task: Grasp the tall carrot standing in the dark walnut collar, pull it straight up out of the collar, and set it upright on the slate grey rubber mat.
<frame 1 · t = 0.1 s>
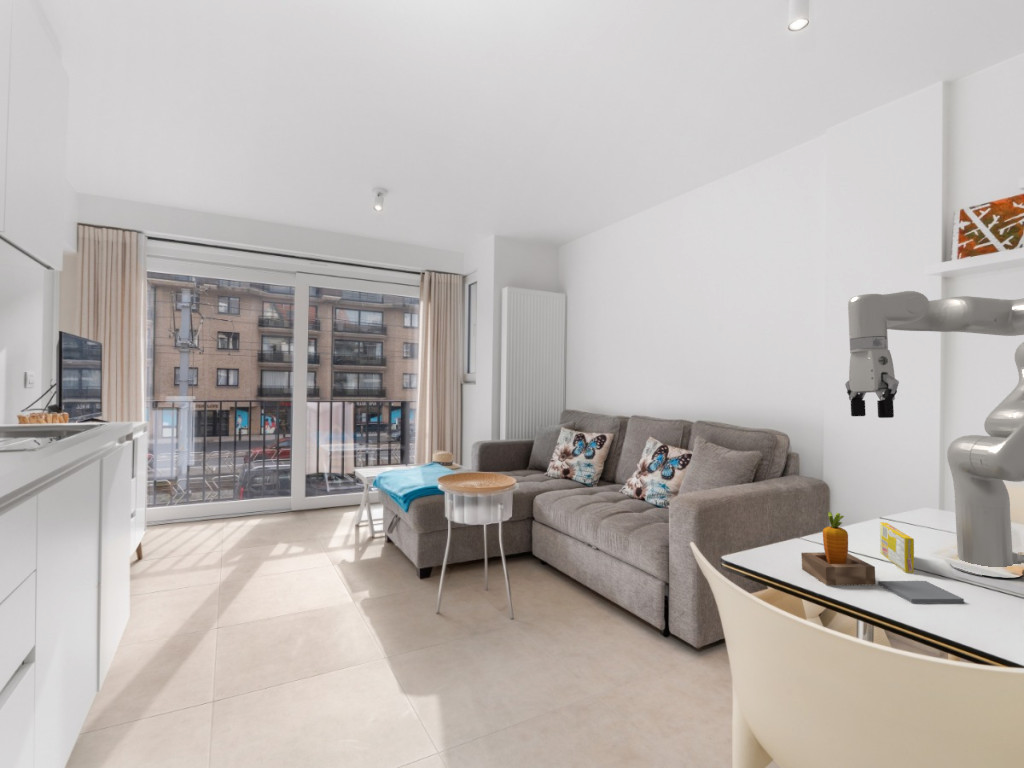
hand: (871, 416, 121), 37 cm above the table, tool pointing down, fingers open, 9 cm apart
rubber mat: (919, 593, 106), on the table
carrot: (837, 577, 116), on the table
candy box: (896, 563, 125), on the table
walnut collar: (837, 576, 116), on the table
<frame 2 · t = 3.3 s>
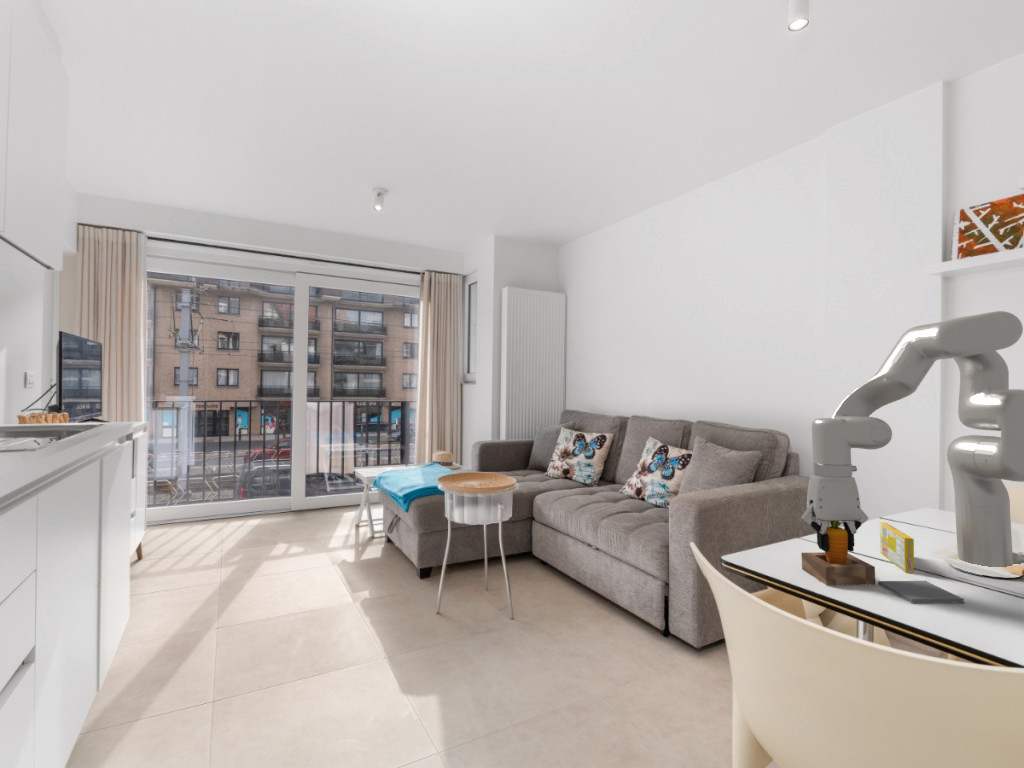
hand: (835, 548, 117), 6 cm above the table, tool pointing down, fingers closed on carrot, 4 cm apart
carrot: (837, 577, 116), on the table, touching gripper
everything else where it was.
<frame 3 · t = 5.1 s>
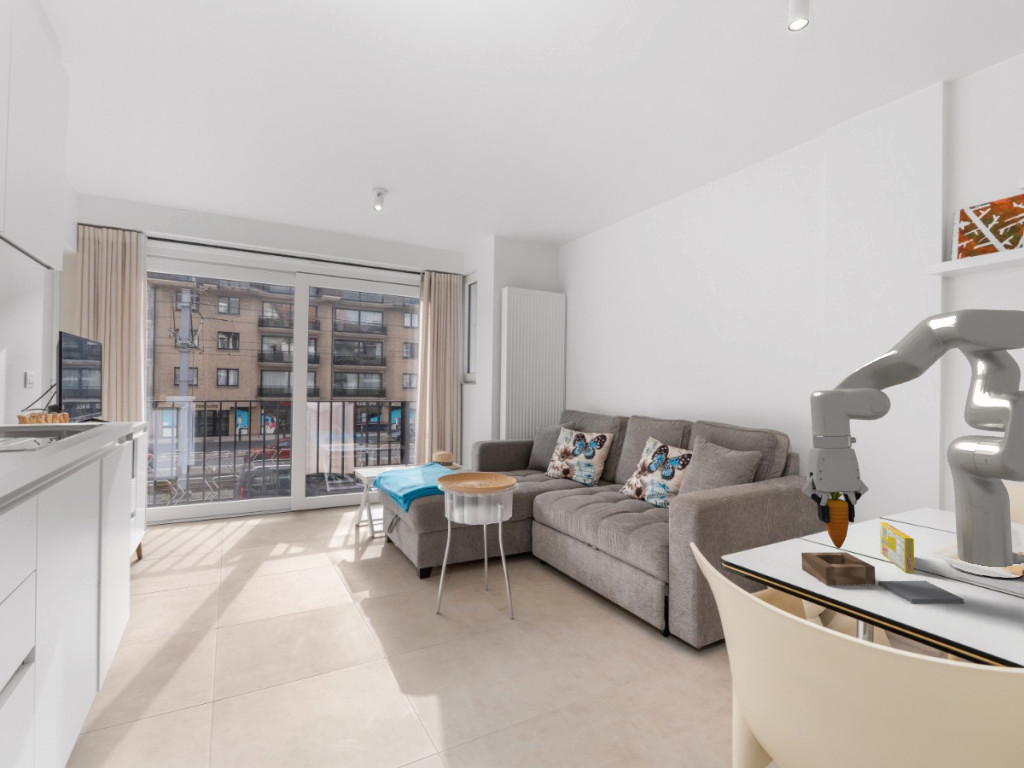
hand: (836, 520, 117), 13 cm above the table, tool pointing down, fingers closed on carrot, 4 cm apart
carrot: (838, 549, 117), point 6 cm above the table, touching gripper
everything else where it was.
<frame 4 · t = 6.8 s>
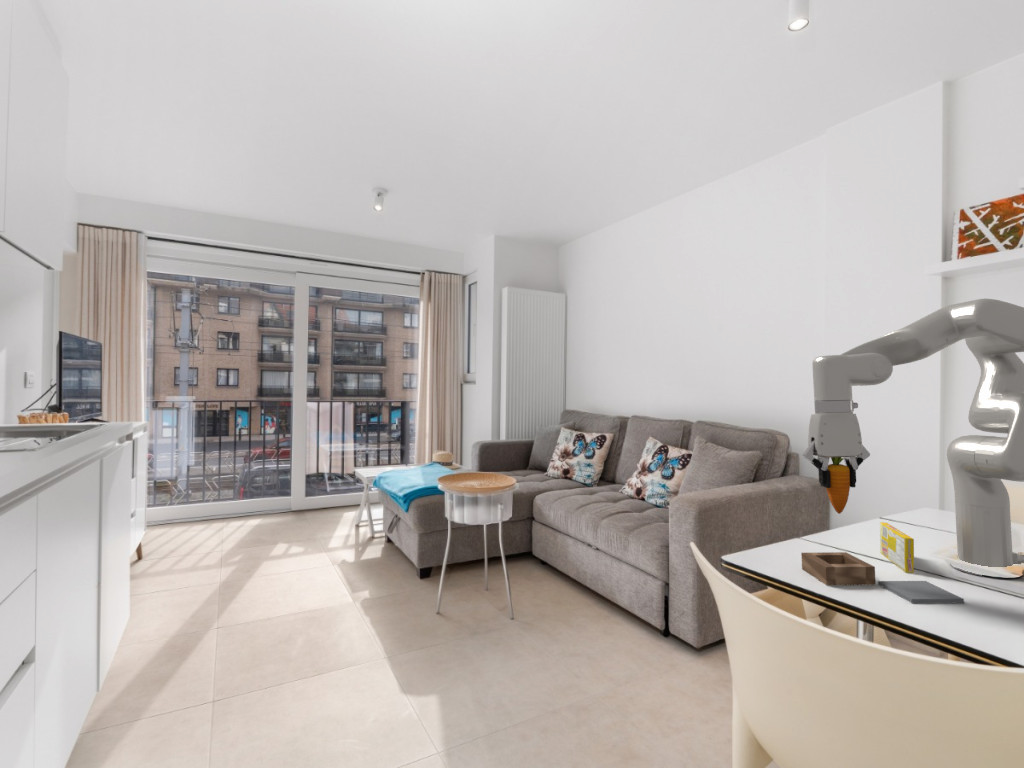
hand: (837, 485, 116), 21 cm above the table, tool pointing down, fingers closed on carrot, 4 cm apart
carrot: (839, 514, 116), point 14 cm above the table, touching gripper
everything else where it was.
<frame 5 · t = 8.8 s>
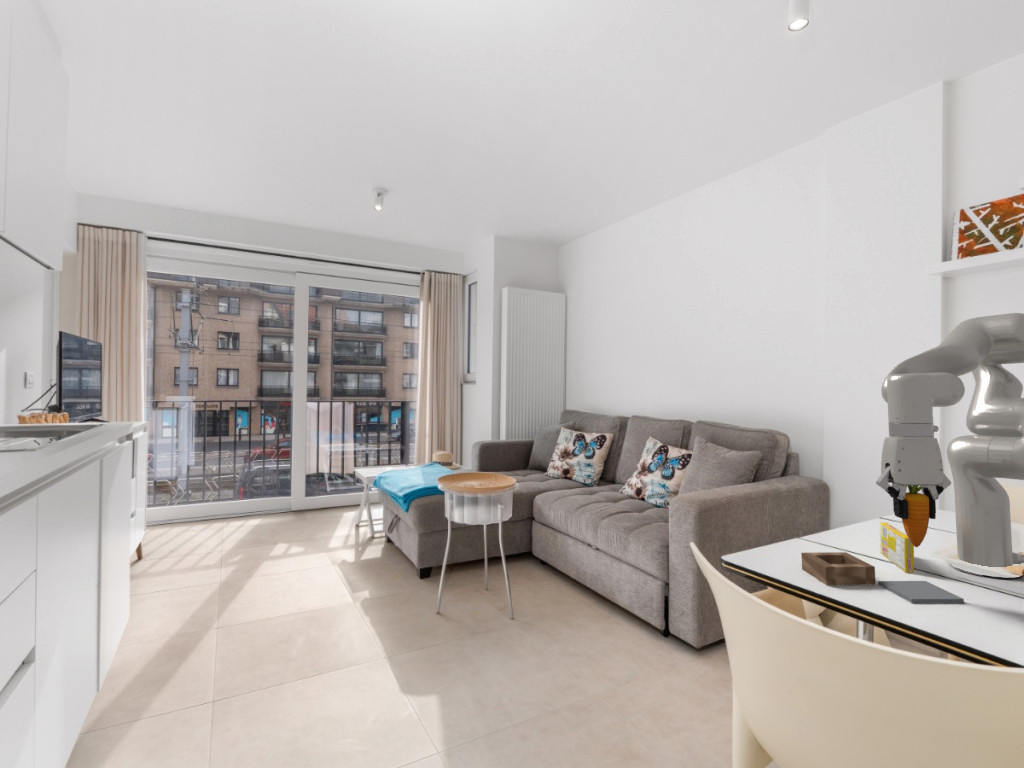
hand: (914, 516, 106), 16 cm above the table, tool pointing down, fingers closed on carrot, 4 cm apart
carrot: (916, 548, 106), point 9 cm above the table, touching gripper
everything else where it was.
when the fingers open (9 cm above the table, at t = 10.4 s): carrot drops 1 cm, resting on rubber mat.
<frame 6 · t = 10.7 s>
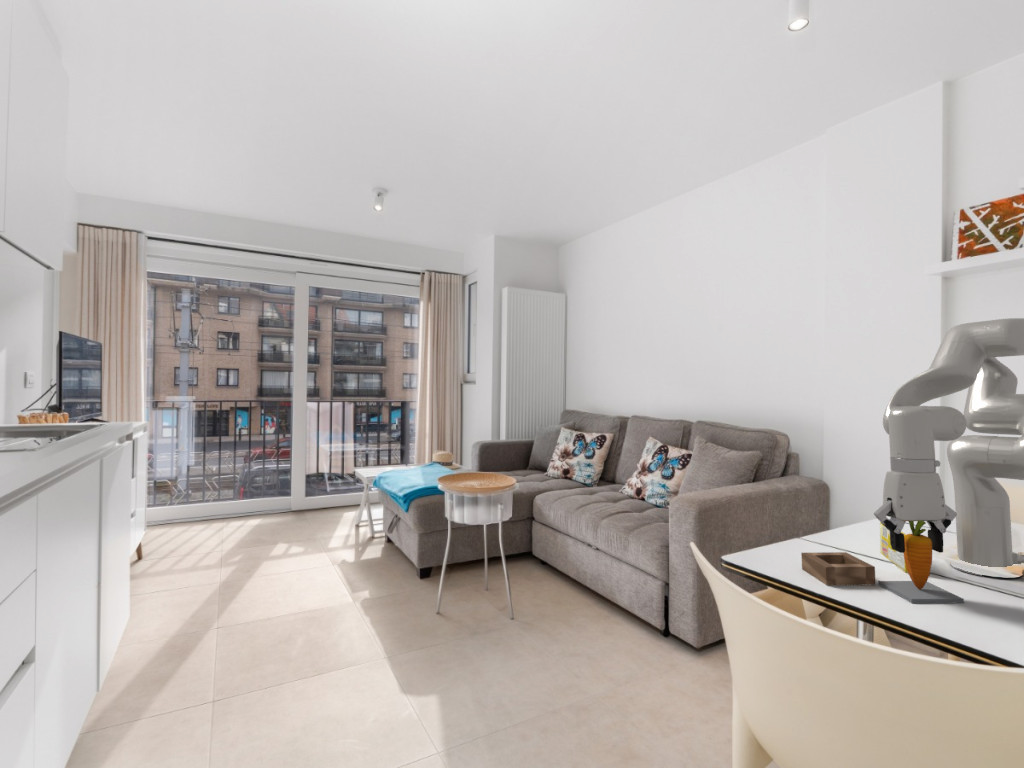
hand: (916, 550, 106), 9 cm above the table, tool pointing down, fingers open, 7 cm apart
carrot: (919, 590, 106), point 1 cm above the table, touching rubber mat
everything else where it was.
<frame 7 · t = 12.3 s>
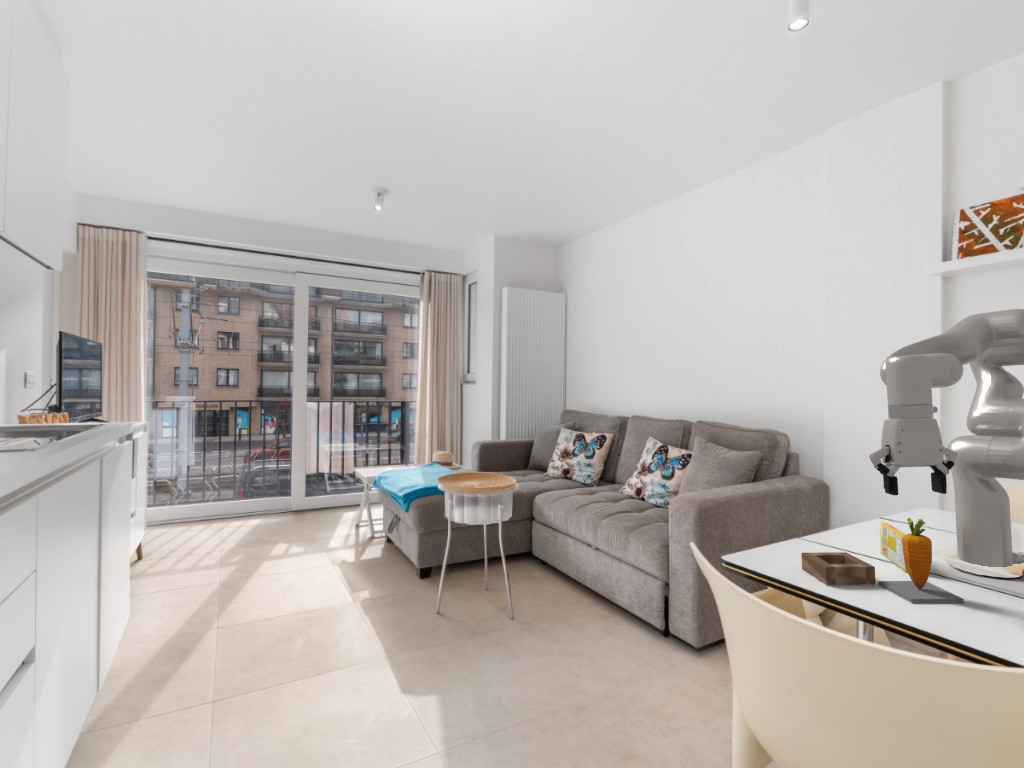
hand: (915, 493, 107), 21 cm above the table, tool pointing down, fingers open, 9 cm apart
nothing on the table moved.
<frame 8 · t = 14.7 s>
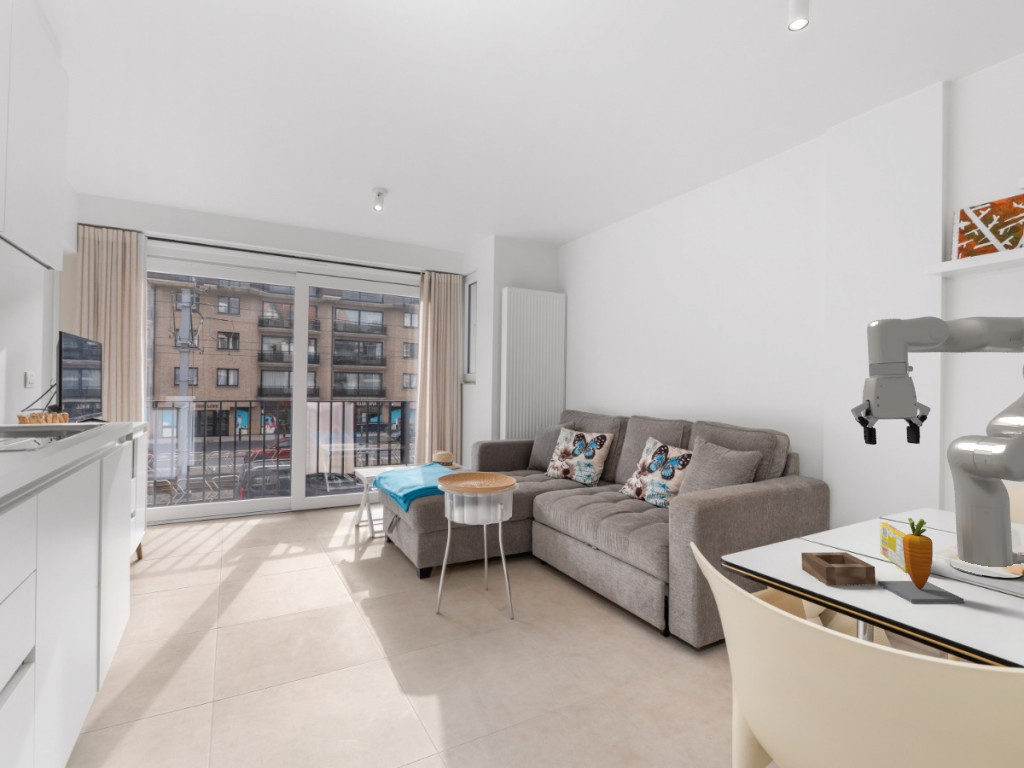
hand: (892, 443, 118), 30 cm above the table, tool pointing down, fingers open, 9 cm apart
nothing on the table moved.
at the end: carrot inside the target area on the rubber mat (0.2 cm from its centre), point 0.6 cm above the rubber mat's base; carrot tilted 0°; the gripper is holding nothing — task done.
